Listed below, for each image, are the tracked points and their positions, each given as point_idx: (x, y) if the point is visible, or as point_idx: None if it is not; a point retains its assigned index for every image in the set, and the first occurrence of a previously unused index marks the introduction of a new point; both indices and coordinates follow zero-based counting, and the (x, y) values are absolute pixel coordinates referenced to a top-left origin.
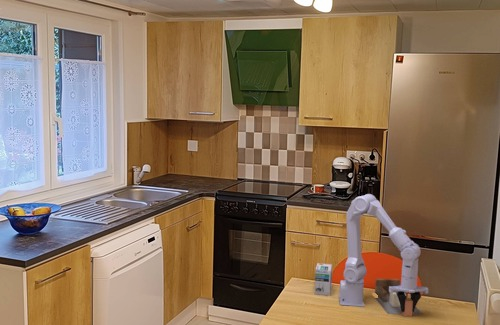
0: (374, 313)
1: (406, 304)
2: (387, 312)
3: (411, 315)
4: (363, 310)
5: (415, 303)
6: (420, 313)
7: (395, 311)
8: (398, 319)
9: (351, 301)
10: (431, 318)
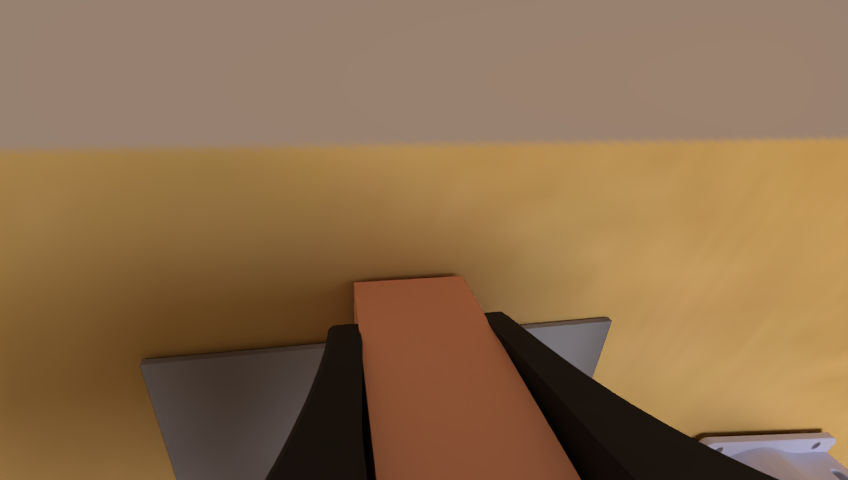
0: (713, 324)
1: (508, 409)
2: (594, 353)
3: (361, 289)
4: (750, 373)
5: (316, 450)
6: (190, 385)
7: None
8: (577, 178)
9: (800, 470)
10: (21, 242)
